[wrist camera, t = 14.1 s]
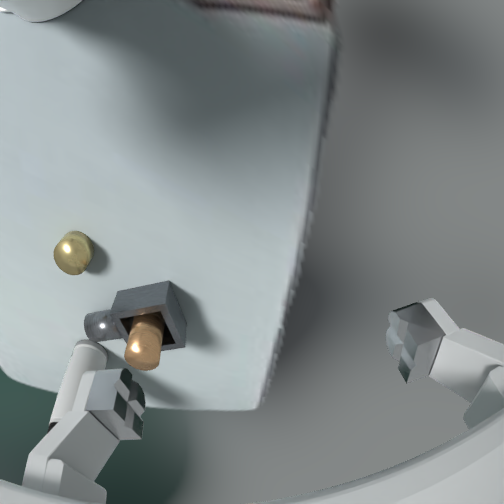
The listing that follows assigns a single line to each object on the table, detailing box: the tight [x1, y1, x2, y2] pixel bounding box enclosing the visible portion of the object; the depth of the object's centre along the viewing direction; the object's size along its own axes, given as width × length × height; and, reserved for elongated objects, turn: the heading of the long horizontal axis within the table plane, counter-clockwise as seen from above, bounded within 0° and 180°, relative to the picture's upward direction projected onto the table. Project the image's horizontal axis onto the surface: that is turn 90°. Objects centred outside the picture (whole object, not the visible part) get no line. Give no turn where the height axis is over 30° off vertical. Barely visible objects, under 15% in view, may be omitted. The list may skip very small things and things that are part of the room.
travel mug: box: [47, 340, 108, 434], centre depth 38 cm, size 6×7×20 cm
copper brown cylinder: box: [124, 311, 165, 371], centre depth 39 cm, size 4×4×10 cm
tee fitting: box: [84, 281, 187, 351], centre depth 41 cm, size 8×14×5 cm, turn 100°
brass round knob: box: [54, 231, 94, 275], centre depth 36 cm, size 5×5×3 cm
